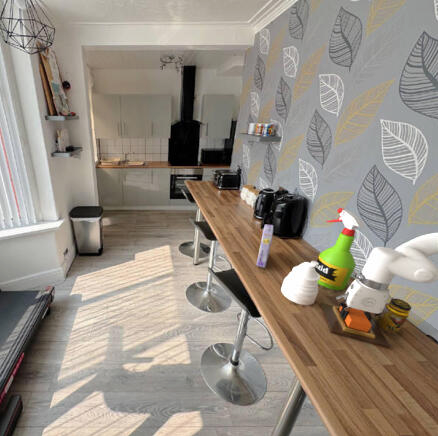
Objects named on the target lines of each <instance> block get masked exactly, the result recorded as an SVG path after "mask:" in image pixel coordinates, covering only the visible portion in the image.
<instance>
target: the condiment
mask: <svg viewBox="0 0 438 436" xmlns="http://www.w3.org/2000/svg"><path fill="white" fill-rule="evenodd" d="M385 307H386V308H387V310H388V312H387V313H383V314H381V315H379V317H378V319H377V322H376V324H377V326H378V327H380V328H381V329H382V330H385V331H387V332H389V333H392V334H396V333H398V332H400V330H401V328H402V327H403V325H404V324H405V322H406V320H407V319H408V318H409V316H410V312H411V310H412V306H411V305H410V304H409V302H407V301H405V300H403V299H400V298H391V299H390V301H389V302H388V303H386V305H385Z"/></svg>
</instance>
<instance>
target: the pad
mask: <svg viewBox="0 0 438 436" xmlns="http://www.w3.org/2000/svg"><path fill="white" fill-rule="evenodd" d="M347 306H348V305H347ZM339 307H340V309H339V311H341V309H342V306H341V305H340V306H339ZM348 311H349V314H348V315H347V317H346V319H345V320H344V321H345V323H346V325H347V327H349V328H353V329H357V330H361V331H364V332H368V331H369V329H370V327H371V326H372V325H371V323H370V322H369V320H368V319H367V317H366V315H365V314H364V312H365V311H363V310H358V309H354V308H351V309H350V310H348Z"/></svg>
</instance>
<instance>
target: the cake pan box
mask: <svg viewBox="0 0 438 436" xmlns="http://www.w3.org/2000/svg"><path fill="white" fill-rule="evenodd" d="M262 230H263V231H262V237H261V241H260V244H259V249H258V255H257V260H256V265H255V266H256V267H258V268H259V267H260V268H263V269H266V267H267V263H268V258H269V255H270V250H271V245H272V242H273V235H274V225H273V224H264V227H263V229H262Z"/></svg>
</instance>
